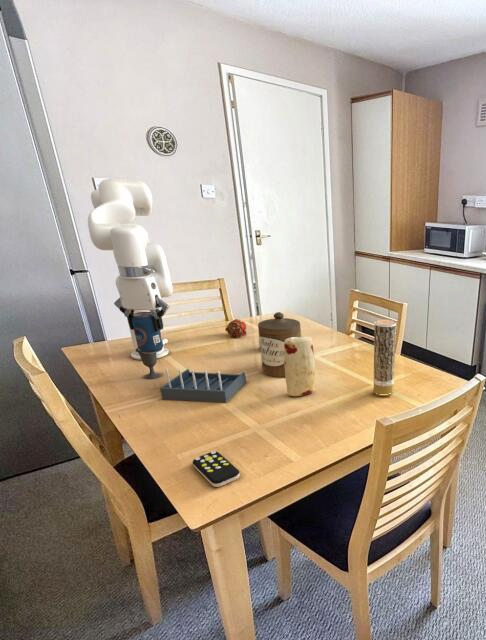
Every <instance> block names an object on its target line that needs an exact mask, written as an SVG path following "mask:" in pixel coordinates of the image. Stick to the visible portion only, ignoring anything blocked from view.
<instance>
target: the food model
mask: <svg viewBox="0 0 486 640" xmlns="http://www.w3.org/2000/svg"><path fill="white" fill-rule="evenodd" d="M284 366H285V377H284V378H285V384H286V394H287V396H292V397H300V396H301V397H302V396H306V395H307V396H308V395H311V394H312V393H313V391H314V387H315V378H316V376H315V375H316V363H315V352H314V345H313V339H312V337H310V336H301V337H291V338H288V339H286V340H285V342H284Z"/></svg>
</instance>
